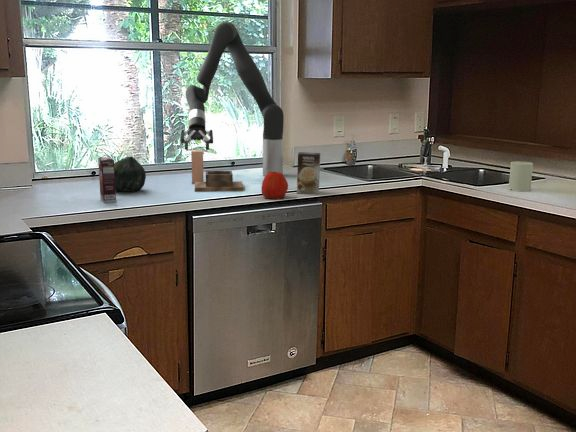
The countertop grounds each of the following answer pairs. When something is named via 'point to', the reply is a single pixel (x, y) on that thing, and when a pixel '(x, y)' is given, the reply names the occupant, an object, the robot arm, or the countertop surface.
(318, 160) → the coffee box
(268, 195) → the apple
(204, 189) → the sleeve holder
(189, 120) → the robot arm
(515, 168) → the can
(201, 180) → the terracotta peg
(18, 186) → the countertop surface
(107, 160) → the supplement box
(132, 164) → the squash
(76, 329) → the countertop surface
